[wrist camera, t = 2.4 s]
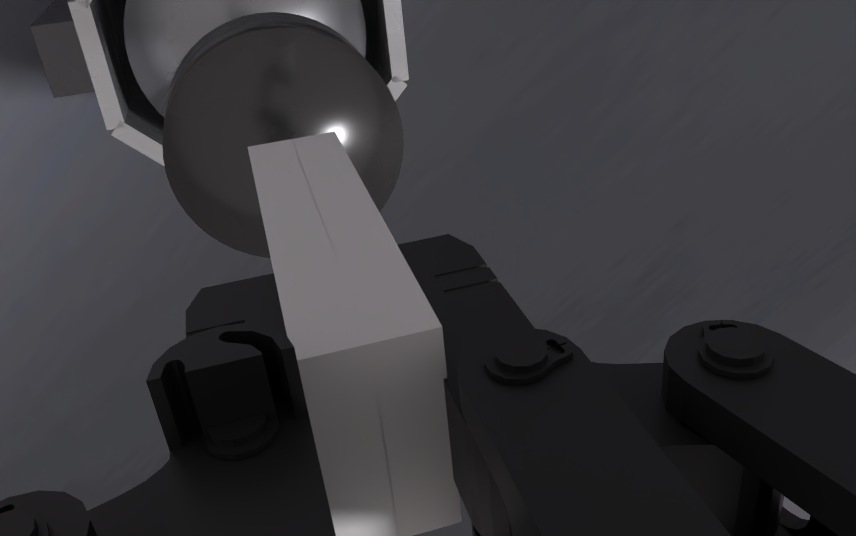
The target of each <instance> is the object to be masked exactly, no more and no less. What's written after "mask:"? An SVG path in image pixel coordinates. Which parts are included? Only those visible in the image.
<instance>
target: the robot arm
mask: <svg viewBox="0 0 856 536" xmlns="http://www.w3.org/2000/svg"><path fill="white" fill-rule="evenodd" d="M248 152H249V157H250V161H251V166H252V171H253V176H254V180H255V185H256V190H257V195H258V199H259V204H260V209H261V214H262V219H263V223H264V228H265V233H266V238H267V242H268V247H269V252H270V257H271V262H272V266H273V271H274V273H273V274H268V275H264V276H259V277H254V278H249V279H244V280H240V281H235V282H230V283H225V284H221V285H216V286H211V287H206V288H202V289H201V290H200V291H199V293H198V294H197V296H196V297H195V299H194V300H193V301H192V303H191V304H190V306H189V307H188V308H187V310H186V336H187V337H186V339H184V340H183V341H181V342H179V343H177V344H176V345H174V346H172V347H170V348H169V349H168V350H167V351H166V352H165V353H164V354H163V355H162V356H161V357H160V358H159V359H158V360H157V361H156V362H155V363H154V364H153V365H152V368H151V370H150V373H149V375H148V378H147V380H146V382H147V385H148V388H149V391H150V394H151V397H152V400H153V403H154V406H155V409H156V412H157V415H158V418H159V421H160V423H161V426H162V429H163V432H164V435H165V438H166V441H167V444H168V447H169V450H170V460H169V461H168V462H167V463H166V464H165V465H164V466H163V467H162V468H161V469H160V470H159V471H157V472H156V473H155V474H154V475H152V476H151V477H150V478H149V479H147V480H146V481H145V482H143V483H141V484H140V485H138V486H136V487H134V488H133V489H131V490H129V491H127V492H126V493H124V494H122V495H120V496H118V497H116V498H114V499H111V500H109V501H107V502H105V503H103V504H101V505H99V506H97V507H95V508H93V509H91V510H89V511H86V508H85V506H84V504H83V502H82V501H80V500H78V499H77V498H75V497H73V496H71V495H69V494H67V493H66V492H56V491H35V492H30V493H26V494H21V495H17V496H12V497H9V498H6V499H4V500H2V501H0V536H414V535H417V534H421V533H424V532H428V531H431V530H435V529H438V528H442V527H445V526H449V525H452V524H456V523H459V522H462V520H461V510H460V500H459V493H460V496H461V498H462V500H463V503H464V505H465V507H466V510H467V512H468V514H469V517H470V519H471V522H472V533H473V536H856V374H854V373H852V372H850V371H848V370H847V369H845V368H843V367H841V366H839V365H837V364H835V363H833V362H832V361H830V360H828V359H826V358H824V357H822V356H820V355H819V354H817V353H815V352H813V351H811V350H809V349H807V348H806V347H804V346H802V345H800V344H798V343H796V342H794V341H793V340H791V339H789V338H787V337H785V336H783V335H781V334H779V333H777V332H774V331H772V330H769V329H767V328H764V327H762V326H759V325H756V324H751V323H745V322H739V321H734V320H715V321H703V322H699V323H695V324H692V325H688V326H685V327H683V328H682V329H680V330H679V331H677V332H676V333H675V334H673V335H672V336H670V338H669V340H668V343H667V345H666V347H665V350H664V361H663V363H642V364H604V363H595V362H591V361H590V360H589V359H588V357H587V356H586V355H585V354H584V353H583V351H582V350H581V349H580V348H579V347H578V346H576V345H575V344H574V343H573V342H571V341H570V340H569V339H568V338H566V337H564V336H561V335H558V334H555V333H553V332H550V331H547V330H541V329H535V328H534V327H533V326H532V324H531V323H530V322H529V320H528V319H527V318H526V316H525V315H524V314H523V312H522V311H521V310H520V308H519V307H518V306H517V304H516V303H515V302H514V300H513V299H512V297H511V296H510V295H509V293H508V292H507V291H506V289H505V288H504V287H503V285H502V284H501V283H500V282H499V283H498V280H497V277H496V276H495V275H494V273H493V272H492V271H491V269H490V268H487V264H486V263H485V261H484V260H483V259H482V257H481V256H480V255H479V253H478V252H477V251H476V249H475V248H474V247H473V246H471V245H469V244H467V243H465V242H463V241H461V240H459V239H457V238H455V237H453V236H451V235H449V234H447V235H442V236H437V237H433V238H428V239H423V240H418V241H413V242H409V243H404V244H399V245H397V244H396V242H395V240H394V238H393V236H392V235H391V233H390V231H389V229H388V227H387V225H386V224H385V222H384V220H383V218H382V216H381V215H380V213H379V211H378V209H377V207H376V205H375V204H374V202H373V200H372V198H371V196H370V195H369V193H368V191H367V189H366V187H365V185H364V184H363V182H362V180H361V178H360V176H359V175H358V173H357V171H356V169H355V167H354V165H353V164H352V162H351V160H350V158H349V156H348V155H347V153H346V151H345V149H344V147H343V145H342V144H341V142H340V140H339V138H338V136H337V135H336V133H335V131H334V132H329V133H323V134H317V135H312V136H306V137H300V138H295V139H289V140H283V141H278V142H272V143H266V144H261V145H255V146H249V147H248ZM784 496H785V497H787V498H788V499H789V500H791V501H792V502H793V503H795V504H796V505H798V506H799V507H800V508H802V509H803V510H804V511H806V512H807V513H808V514H810V520H805V519H801V518H799V517H797V516H796V515H794V514H792V513H790V512H789V511H788V510H786V509H785V508H784V507H782V505H783V500H784Z"/></svg>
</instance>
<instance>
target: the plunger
mask: <svg viewBox="0 0 856 536" xmlns="http://www.w3.org/2000/svg"><path fill="white" fill-rule="evenodd" d="M124 38H125V46H126V51H127V55H128V60H129V62H130V65H131V68H132V71H133V74H134V76H135V78H136V80H137V82H138V84H139V86H140V88H141V90H142V91H143V93H144V94H145V96H146V97H147V99H148V100H149V101H150V103H151V104H152V105H153V106H154V107H155V109H156V110H157V111H158V112H159V113H160V114H161V115H162V116H163V117H164V129H163V140H162V147H163V160H164V165H165V170H166V174H167V177H168V180H169V183H170V186H171V188H172V190H173V192H174V194H175V196H176V198H177V200H178V202H179V203H180V205H181V206H182V208H183V209H184V210H185V212H186V213H187V214H188V216H189V217H190V218H191V219H192V220H193V221H194V222H195V223H196V224H197V225H198V226H199V227H200V228H201V229H203V230H204V231H205V232H206V233H207V234H209V235H210V236H212V237H213V238H215V239H216V240H218V241H219V242H221V243H223V244H225V245H227V246H229V247H231V248H233V249H236V250H239V251H242V252H245V253H248V254H251V255H256V256H261V257H268V258H271V257H270V252H269V247H268V242H267V238H266V233H265V228H264V223H263V219H262V214H261V209H260V204H259V199H258V195H257V190H256V185H255V180H254V176H253V171H252V166H251V161H250V157H249V152H248V147H249V146H255V145H261V144H266V143H272V142H278V141H283V140H289V139H295V138H300V137H306V136H312V135H317V134H323V133H329V132H334V131H335V133H336V135H337V136H338V138H339V140H340V142H341V144H342V145H343V147H344V149H345V151H346V153H347V155H348V156H349V158H350V160H351V162H352V164H353V165H354V167H355V169H356V171H357V173H358V175H359V176H360V178H361V180H362V182H363V184H364V185H365V187H366V189H367V191H368V193H369V195H370V196H371V198H372V200H373V202H374V204H375V205H376V207H377V209H378V211H379V212H380V211H381V209H382V208H383V206H384V205H385V203H386V202H387V200H388V199H389V197H390V195H391V193H392V191H393V189H394V187H395V184H396V181H397V179H398V176H399V172H400V168H401V163H402V157H403V146H404V145H403V129H402V124H401V118H400V114H399V111H398V108H397V105H396V102H395V100H394V98H393V96H392V94H391V92H390V90H389V88H388V87H387V85H386V84H385V82H384V81H383V79H382V78H381V76H380V75H379V74H378V73H377V72H376V70H375V69H374V68H373V67H372V66H371V65H370V64H369V62H368V61H367V60H366V59H365V54H366V24H365V18H364V13H363V8H362V5H361V2H360V0H126V5H125V11H124Z"/></svg>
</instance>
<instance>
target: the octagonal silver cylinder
mask: <svg viewBox="0 0 856 536" xmlns="http://www.w3.org/2000/svg"><path fill="white" fill-rule="evenodd" d="M360 2H361V5H362V8H363V13H364V18H365V24H366V54H365V59H366V60H367V61H368V62H369V64H370V65H371V66H372V67H373V68H374V69H375V70H376V72H377V73H378V74H379V75H380V76H381V78H382V79H383V81H384V82H385V84H386V85H387V87H388V88H389V90H390V92H391V94H392V96H393V98H394V100H395V101H396V100H397V98H398V97H399V96H400V94H401V93H402V92H403V90H404V89H405V88H406V86H407V84H406V83H405V82H404V81H405V80H409V76H408V66H407V57H406V47H405V38H404V28H403V18H402V9H401V0H360ZM125 5H126V0H55V1H54V2H53V3H52V4H51V5H50V6H49V7H48V8H47V9H46V10H45V11H44V12H43V13H42V15H41V16H40V17H39V18H38V19H37V20H36V21H35V22H34V23H33V24H32V25H31V26H30V29H31V31H32V34H33V37H34V40H35V43H36V46H37V49H38V52H39V55H40V58H41V61H42V64H43V67H44V70H45V73H46V76H47V79H48V82H49V85H50V88H51V91H52V94H53V97H54V98H56V97H62V96H69V95H75V94H81V93H88V92H94V91H95V93H96V96H97V99H98V102H99V106H100V109H101V112H102V115H103V118H104V122H105V125H106V128H107V130H112V129H113V130H112V133H111V135H112V136H114V137H115V138H117V139H119V140H121V141H122V142H124V143H126V144H127V145H129V146H131V147H133V148H134V149H136V150H138V151H139V152H141V153H143V154H145V155H146V156H148V157H150V158H151V159H153V160H155V161H157V162H158V163H160V164H162V165H163V166H165V165H164V160H163V147H162V140H163V129H164V117H163V116H162V115H161V114H160V113H159V112H158V111H157V110H156V109H155V107H154V106H153V105H152V104H151V103H150V101H149V100H148V99H147V97H146V96H145V94H144V93H143V91H142V90H141V88H140V86H139V84H138V82H137V80H136V78H135V76H134V74H133V71H132V68H131V65H130V62H129V60H128V55H127V51H126V46H125V38H124V11H125Z"/></svg>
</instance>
